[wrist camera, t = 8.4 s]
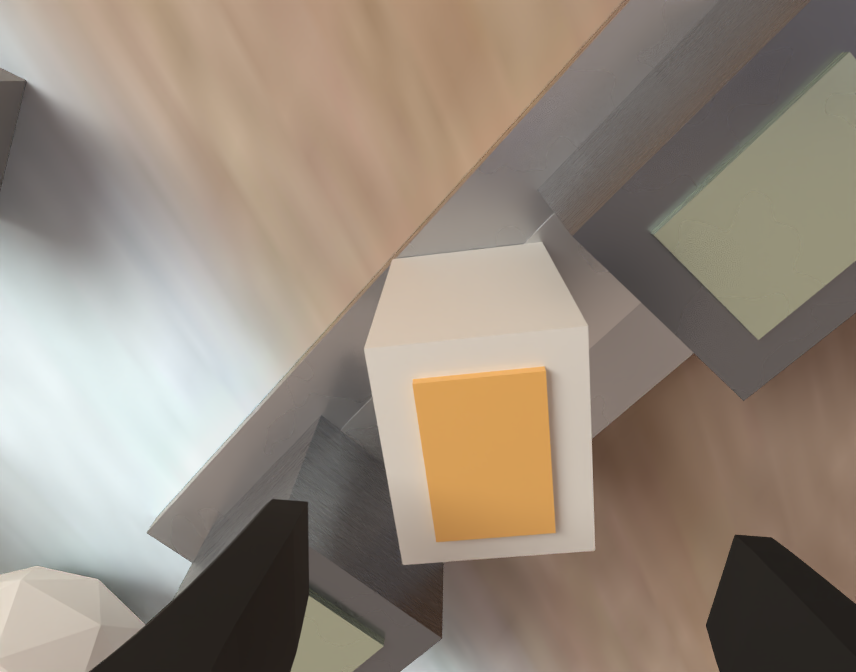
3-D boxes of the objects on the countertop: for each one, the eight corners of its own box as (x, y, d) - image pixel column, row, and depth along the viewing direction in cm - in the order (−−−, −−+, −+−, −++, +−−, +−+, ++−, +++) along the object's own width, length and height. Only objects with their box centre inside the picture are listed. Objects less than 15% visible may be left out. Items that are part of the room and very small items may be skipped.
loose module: (542, 241, 17) (590, 330, 11) (551, 407, 18) (597, 557, 13) (392, 258, 17) (362, 353, 11) (416, 420, 19) (401, 572, 13)
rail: (923, 137, 16) (1173, 170, 10) (338, 637, 23) (303, 811, 18) (725, -111, 14) (901, -231, 9) (156, 517, 22) (55, 670, 16)
